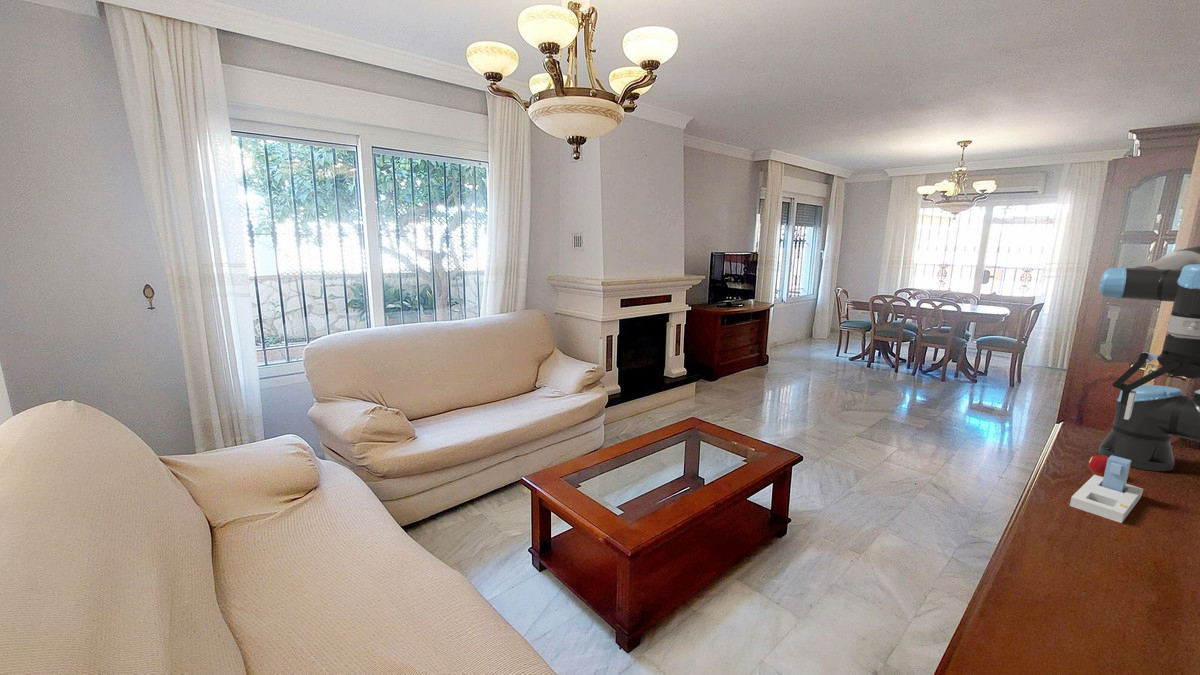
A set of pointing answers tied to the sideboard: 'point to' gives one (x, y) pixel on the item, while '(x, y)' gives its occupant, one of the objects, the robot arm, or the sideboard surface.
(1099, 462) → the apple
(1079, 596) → the sideboard surface
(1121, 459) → the plug
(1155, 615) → the sideboard surface
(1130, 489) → the panel
